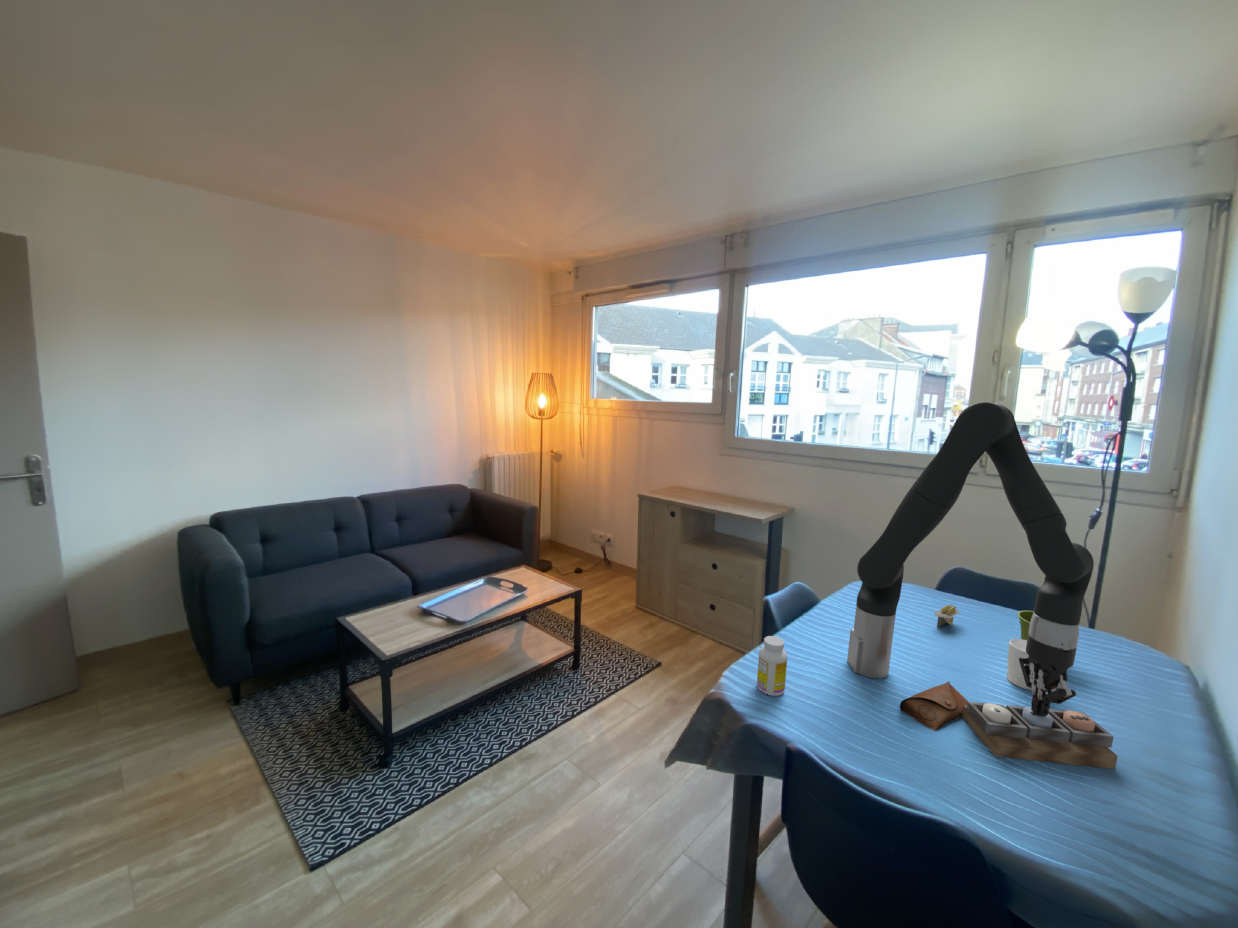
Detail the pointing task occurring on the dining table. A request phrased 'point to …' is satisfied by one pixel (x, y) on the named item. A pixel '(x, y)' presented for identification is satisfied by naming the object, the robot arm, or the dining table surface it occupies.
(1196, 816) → the dining table surface
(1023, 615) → the plant pot
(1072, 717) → the button three
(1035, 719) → the button two
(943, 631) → the dining table surface
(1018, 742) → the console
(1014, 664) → the white cup
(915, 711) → the sunglasses case
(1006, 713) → the button one
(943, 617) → the platform
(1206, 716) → the dining table surface
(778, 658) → the supplement bottle
